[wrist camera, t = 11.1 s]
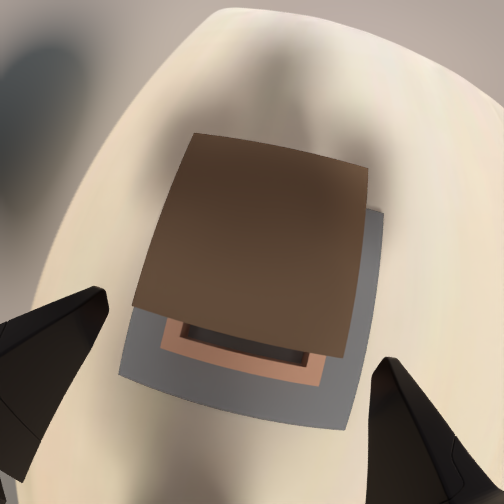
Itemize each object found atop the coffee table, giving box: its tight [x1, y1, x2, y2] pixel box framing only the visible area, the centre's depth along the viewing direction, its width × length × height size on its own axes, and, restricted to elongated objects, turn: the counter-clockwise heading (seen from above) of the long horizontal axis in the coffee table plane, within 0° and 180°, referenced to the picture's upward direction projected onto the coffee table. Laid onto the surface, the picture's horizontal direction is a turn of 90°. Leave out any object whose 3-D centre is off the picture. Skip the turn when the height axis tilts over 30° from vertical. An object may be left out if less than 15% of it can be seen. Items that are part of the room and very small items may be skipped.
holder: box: [118, 208, 384, 430], centre depth 17 cm, size 16×16×2 cm
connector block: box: [132, 133, 368, 358], centre depth 12 cm, size 5×5×12 cm
